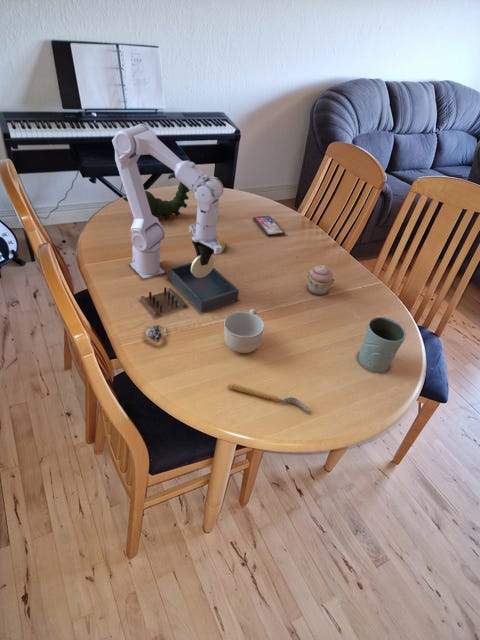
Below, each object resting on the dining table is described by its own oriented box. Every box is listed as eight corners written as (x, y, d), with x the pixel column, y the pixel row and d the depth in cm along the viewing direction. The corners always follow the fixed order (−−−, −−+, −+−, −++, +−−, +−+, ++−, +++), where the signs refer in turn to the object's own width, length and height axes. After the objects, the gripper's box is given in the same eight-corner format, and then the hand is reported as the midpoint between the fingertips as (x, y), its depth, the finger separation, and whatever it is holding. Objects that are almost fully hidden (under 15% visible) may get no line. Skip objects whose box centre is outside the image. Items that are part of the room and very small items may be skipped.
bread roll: (212, 255, 155) (213, 245, 153) (197, 244, 160) (197, 234, 158) (229, 249, 160) (231, 240, 158) (214, 239, 165) (215, 229, 162)
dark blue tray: (168, 279, 141) (168, 268, 138) (203, 269, 148) (204, 259, 145) (200, 313, 129) (201, 302, 127) (237, 300, 137) (239, 290, 134)
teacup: (247, 364, 115) (251, 342, 110) (213, 346, 119) (216, 324, 114) (271, 337, 125) (277, 315, 120) (240, 321, 129) (243, 300, 124)
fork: (229, 387, 106) (310, 408, 104) (231, 380, 107) (311, 401, 105) (229, 392, 108) (308, 413, 106) (231, 385, 109) (309, 406, 107)
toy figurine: (179, 213, 181) (118, 213, 169) (186, 168, 170) (121, 164, 158) (187, 224, 174) (124, 224, 163) (194, 178, 163) (127, 175, 152)
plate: (189, 279, 133) (191, 256, 128) (211, 272, 137) (213, 250, 132) (191, 280, 132) (193, 258, 127) (213, 274, 137) (215, 252, 132)
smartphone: (268, 234, 171) (253, 216, 181) (267, 236, 172) (252, 218, 182) (285, 232, 174) (269, 215, 184) (284, 235, 174) (269, 217, 185)
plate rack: (140, 300, 130) (140, 292, 128) (170, 291, 136) (170, 283, 134) (155, 317, 125) (155, 309, 123) (185, 307, 130) (185, 299, 128)
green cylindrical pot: (369, 377, 118) (384, 344, 110) (348, 352, 124) (360, 319, 117) (398, 369, 122) (414, 337, 114) (376, 345, 128) (390, 313, 121)
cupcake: (311, 278, 152) (318, 253, 146) (335, 289, 149) (343, 264, 142) (298, 289, 146) (305, 264, 140) (323, 301, 142) (331, 276, 136)
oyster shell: (165, 326, 123) (165, 320, 122) (172, 345, 117) (172, 339, 116) (141, 329, 121) (141, 324, 119) (147, 348, 115) (147, 343, 114)
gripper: (181, 213, 125) (179, 254, 134) (208, 236, 117) (204, 278, 125) (201, 209, 129) (198, 249, 138) (230, 231, 121) (224, 272, 129)
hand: (202, 263), depth 132 cm, fingers closed on plate, 1 cm apart
